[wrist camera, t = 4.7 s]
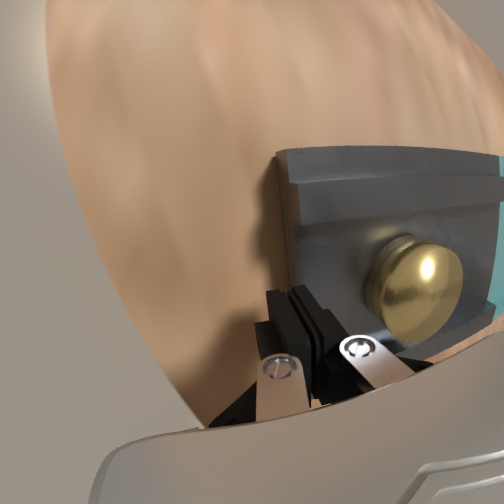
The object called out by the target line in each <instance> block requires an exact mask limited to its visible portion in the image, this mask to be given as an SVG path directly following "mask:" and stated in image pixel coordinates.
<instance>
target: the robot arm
mask: <svg viewBox="0 0 504 504" xmlns="http://www.w3.org/2000/svg"><path fill="white" fill-rule="evenodd" d="M287 295H288V297H287ZM287 295H286V294H285V292H280V290H279V289H277V290H271V291H266V297H267V305H268V314H269V321H263V322H258V323H255V331H256V338H257V344H258V349H259V354H260V359H261V362H260V363H259V365H258V368H257V381H256V382H255V383H254V384H253V385H252V386H251V387H250V388H249V389H248V390H247V391H246V392H245V393H244V394H242V395H241V396H240V397H239V398H238V399H237V400H236V401H235V402H234V403H233V404H231V405H230V406H229V407H228V408H227V409H226V410H225V411H224V412H222V413H221V414H220V415H219V416H218V417H217V418H215V419H214V420H213V421H212V422H211V424H210V425H209V427H208V428H205V429H199V428H198V427H196V428H192V429H189V430H184V431H180V432H173V433H166V434H161V435H156V436H151V437H146V438H143V439H140V440H136V441H133V442H130V443H127V444H125V445H123V446H121V447H118V448H116V449H115V450H114V451H112V452H111V453H110V454H109V455H108V456H107V457H106V458H105V459H104V461H103V462H102V464H101V466H100V468H99V470H98V472H97V474H96V477H95V479H94V483H93V485H92V489H91V492H90V496H89V500H88V504H504V331H501V332H498V333H495V334H492V335H490V336H488V337H485V338H483V339H482V340H480V341H478V342H476V343H474V344H472V345H471V346H469V347H467V348H465V349H463V350H461V351H459V352H458V353H456V354H454V355H452V356H450V357H448V358H446V359H444V360H442V361H439V362H436V364H433V363H431V362H427V361H421V360H415V359H409V358H404V357H399V356H395V355H393V354H392V353H391V352H390V351H389V350H387V349H386V348H385V347H384V346H383V345H381V344H380V343H379V342H378V341H377V340H375V339H374V338H372V337H369V336H365V335H354V336H351V337H350V335H349V334H348V333H347V331H346V330H345V329H344V327H343V326H342V325H341V324H340V322H339V321H338V320H337V318H336V317H335V316H334V314H333V313H332V312H331V311H330V310H329V309H322V307H321V306H320V305H319V303H318V302H317V301H316V299H315V298H314V297H313V295H312V294H311V293H310V291H309V290H308V289H307V287H306V286H305V285H299V286H293V287H292V288H291V290H290V291H288V292H287ZM311 393H312V395H313V398H314V399H319V401H320V403H321V405H326V404H329V403H331V404H330V405H327V406H323V407H320V408H316V409H312V410H310V408H311Z"/></svg>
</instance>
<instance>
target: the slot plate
mask: <svg viewBox="0 0 504 504" xmlns="http://www.w3.org/2000/svg"><path fill="white" fill-rule="evenodd" d="M276 159H277V167H278V176H279V184H280V193H281V202H282V212H283V221H284V231H285V241H286V252H287V263H288V275H289V287H290V290H291V288H292V287H293V286H299V285H305V286H306V287H307V289H308V290H309V291H310V293H311V294H312V295H313V297H314V298H315V299H316V301H317V302H318V303H319V305H320V306H321V307H322V309H329V310H330V311H331V312H332V313H333V314H334V316H335V317H336V318H337V320H338V321H339V322H340V324H341V325H342V326H343V327H344V329H345V330H346V331H347V333H348V334H349V335H350V337H351V336H354V335H365V336H369V337H372V338H374V339H375V340H377V341H378V342H379V343H380V344H381V345H383V346H384V347H385V348H386V349H387V350H389V351H390V352H391V353H392V354H393V355H395V356H399V357H404V358H409V359H415V360H421V361H423V360H425V359H427V358H429V357H431V356H434V355H436V354H438V353H440V352H442V351H444V350H446V349H448V348H450V347H452V346H453V345H455V344H457V343H459V342H461V341H463V340H465V339H466V338H468V337H470V336H472V335H473V334H475V333H477V332H478V331H480V330H482V329H483V328H485V327H487V326H488V325H490V324H491V323H492V321H493V317H494V314H495V310H496V305H495V304H493V303H491V302H490V301H488V300H487V298H488V293H489V289H490V284H491V279H492V273H493V268H494V261H495V255H496V247H497V238H498V228H499V213H500V202H504V176H500V164H499V156H496V155H490V154H483V153H476V152H468V151H459V150H449V149H438V148H424V147H405V146H329V147H309V148H294V149H285V150H281V151H278V152H276ZM405 235H415V236H419V237H421V238H423V239H426V240H428V241H431V242H433V243H435V244H438V245H440V246H442V247H445V248H447V249H449V250H451V251H453V252H454V253H455V254H456V255H457V256H458V258H459V260H460V262H461V265H462V270H463V284H462V290H461V294H460V297H459V300H458V303H457V305H456V307H455V309H454V311H453V313H452V314H451V316H450V317H449V319H448V320H447V322H446V323H445V324H444V325H443V326H442V327H441V328H440V329H439V330H438V331H437V332H436V333H435V334H434V335H432V336H431V337H429V338H428V339H426V340H424V341H422V342H419V343H415V344H406V343H403V342H400V341H399V340H398V339H397V338H396V337H395V336H394V335H393V334H392V333H391V332H390V331H389V330H388V329H387V328H386V327H385V326H384V325H383V324H382V323H381V322H380V321H379V320H378V319H377V318H376V317H375V316H374V315H373V314H372V313H371V312H370V310H369V308H368V306H367V303H366V298H365V285H366V280H367V276H368V273H369V270H370V268H371V266H372V264H373V262H374V260H375V259H376V257H377V256H378V254H379V253H380V252H381V251H382V249H383V248H384V247H386V246H387V245H388V244H389V243H390V242H392V241H393V240H395V239H397V238H399V237H402V236H405ZM311 399H314V398H313V395H312V393H311Z"/></svg>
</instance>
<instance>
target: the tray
mask: <svg viewBox="0 0 504 504" xmlns="http://www.w3.org/2000/svg"><path fill="white" fill-rule="evenodd" d="M499 164H500V176H504V157H501V156H499ZM487 300H488V301H490V302H491V303H493V304H495V305H496V310H495V314H494V317H493V320H494V319H496V318H497V317H499V316H501V315H502V314H504V202H500V213H499V228H498V238H497V247H496V255H495V261H494V268H493V273H492V279H491V284H490V289H489V293H488V298H487Z"/></svg>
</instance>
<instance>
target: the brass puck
mask: <svg viewBox="0 0 504 504" xmlns="http://www.w3.org/2000/svg"><path fill="white" fill-rule="evenodd" d="M462 284H463V270H462V265H461V262H460V260H459V258H458V256H457V255H456V254H455V253H454V252H453V251H451V250H449V249H447V248H445V247H442V246H440V245H438V244H435V243H433V242H431V241H428V240H426V239H423V238H421V237H419V236H415V235H405V236H402V237H399V238H397V239H395V240H393V241H392V242H390V243H389V244H388V245H387V246H386V247H384V248H383V249H382V251H381V252H380V253H379V254H378V256H377V257H376V259H375V260H374V262H373V264H372V266H371V268H370V270H369V273H368V276H367V280H366V285H365V298H366V303H367V306H368V308H369V310H370V312H371V313H372V314H373V315H374V316H375V317H376V318H377V319H378V320H379V321H380V322H381V323H382V324H383V325H384V326H385V327H386V328H387V329H388V330H389V331H390V332H391V333H392V334H393V335H394V336H395V337H396V338H397V339H398V340H399V341H400V342H403V343H406V344H415V343H419V342H422V341H424V340H426V339H428V338H429V337H431V336H432V335H434V334H435V333H436V332H437V331H438V330H439V329H440V328H441V327H442V326H443V325H444V324H445V323H446V322H447V320H448V319H449V317H450V316H451V314H452V313H453V311H454V309H455V307H456V305H457V303H458V300H459V297H460V294H461V290H462Z"/></svg>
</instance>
